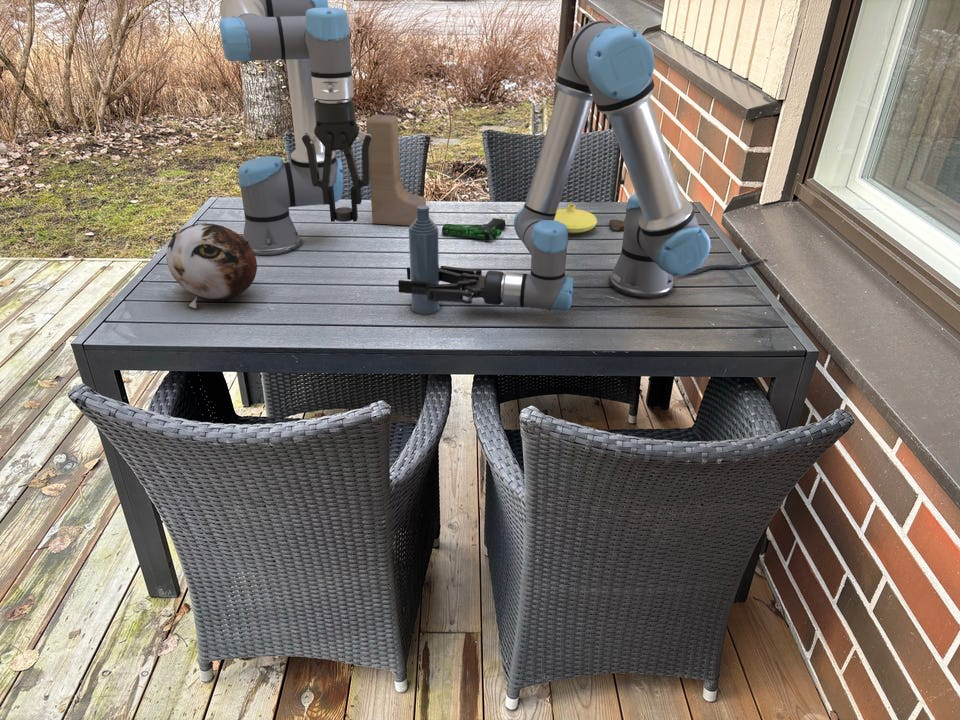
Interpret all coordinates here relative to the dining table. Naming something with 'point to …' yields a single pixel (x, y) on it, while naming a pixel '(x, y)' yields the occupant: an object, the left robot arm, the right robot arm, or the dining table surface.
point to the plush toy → (211, 261)
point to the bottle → (424, 258)
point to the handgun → (476, 230)
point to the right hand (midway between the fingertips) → (403, 279)
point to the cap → (343, 214)
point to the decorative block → (388, 175)
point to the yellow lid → (576, 219)
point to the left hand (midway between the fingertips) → (344, 219)
